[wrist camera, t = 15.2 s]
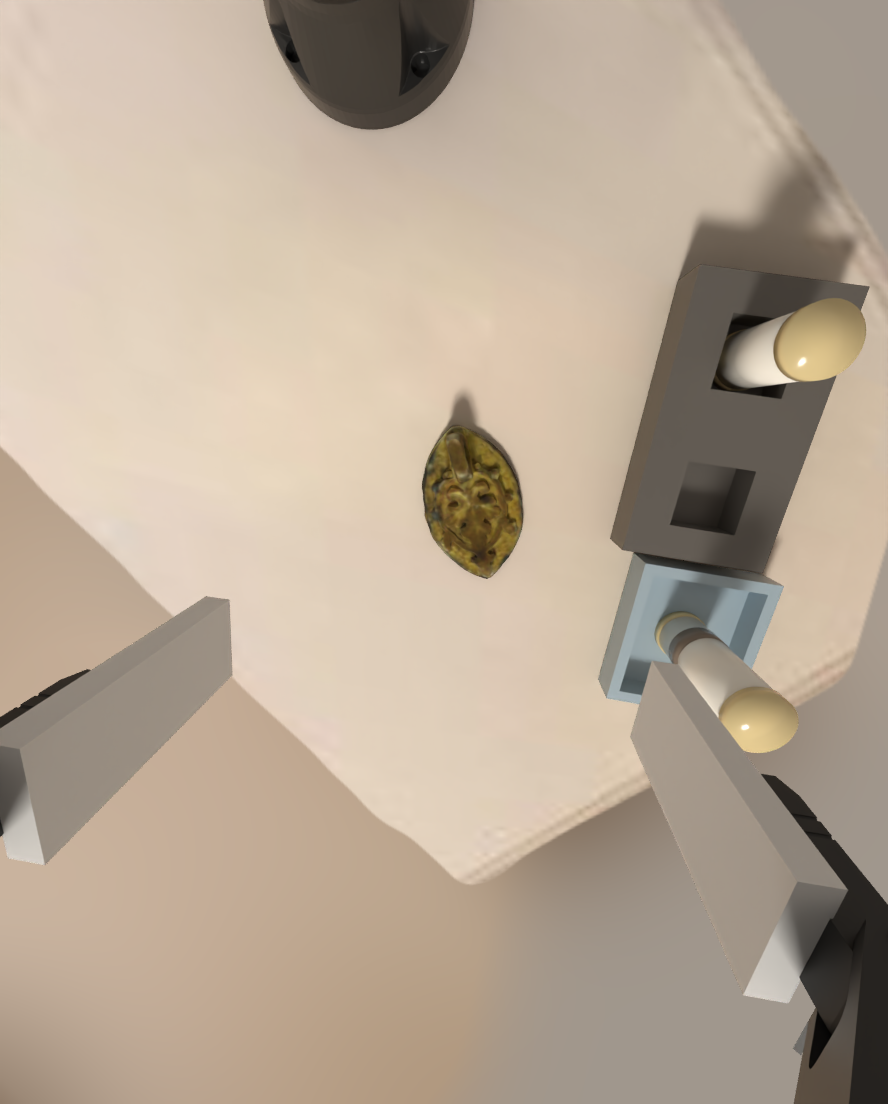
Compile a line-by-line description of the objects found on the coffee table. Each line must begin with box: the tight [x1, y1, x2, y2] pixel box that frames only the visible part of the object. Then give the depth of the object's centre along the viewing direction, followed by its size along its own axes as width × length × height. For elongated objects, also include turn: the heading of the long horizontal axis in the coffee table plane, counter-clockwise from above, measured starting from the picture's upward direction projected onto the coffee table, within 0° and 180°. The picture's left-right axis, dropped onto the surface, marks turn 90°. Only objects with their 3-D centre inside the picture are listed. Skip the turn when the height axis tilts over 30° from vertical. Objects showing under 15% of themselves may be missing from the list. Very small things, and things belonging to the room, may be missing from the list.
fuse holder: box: [610, 264, 869, 573], centre depth 37 cm, size 22×12×4 cm, turn 172°
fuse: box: [713, 298, 866, 392], centre depth 32 cm, size 5×5×10 cm
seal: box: [422, 425, 523, 579], centre depth 42 cm, size 9×5×15 cm
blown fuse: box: [654, 611, 798, 753], centre depth 37 cm, size 5×5×14 cm
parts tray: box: [598, 553, 784, 704], centre depth 43 cm, size 14×12×3 cm
